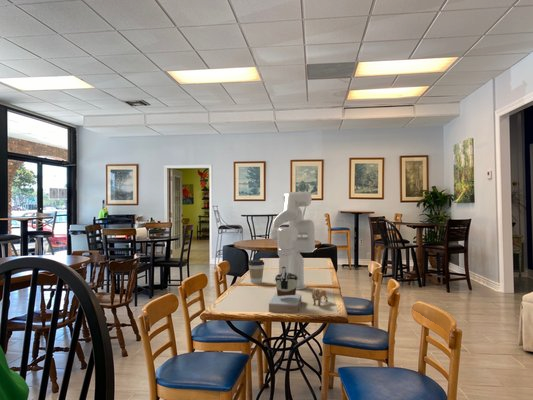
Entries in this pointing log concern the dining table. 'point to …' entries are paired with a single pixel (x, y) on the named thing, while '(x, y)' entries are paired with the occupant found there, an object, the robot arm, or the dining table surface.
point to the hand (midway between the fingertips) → (285, 286)
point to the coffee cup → (256, 270)
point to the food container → (291, 285)
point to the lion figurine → (318, 296)
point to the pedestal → (285, 303)
